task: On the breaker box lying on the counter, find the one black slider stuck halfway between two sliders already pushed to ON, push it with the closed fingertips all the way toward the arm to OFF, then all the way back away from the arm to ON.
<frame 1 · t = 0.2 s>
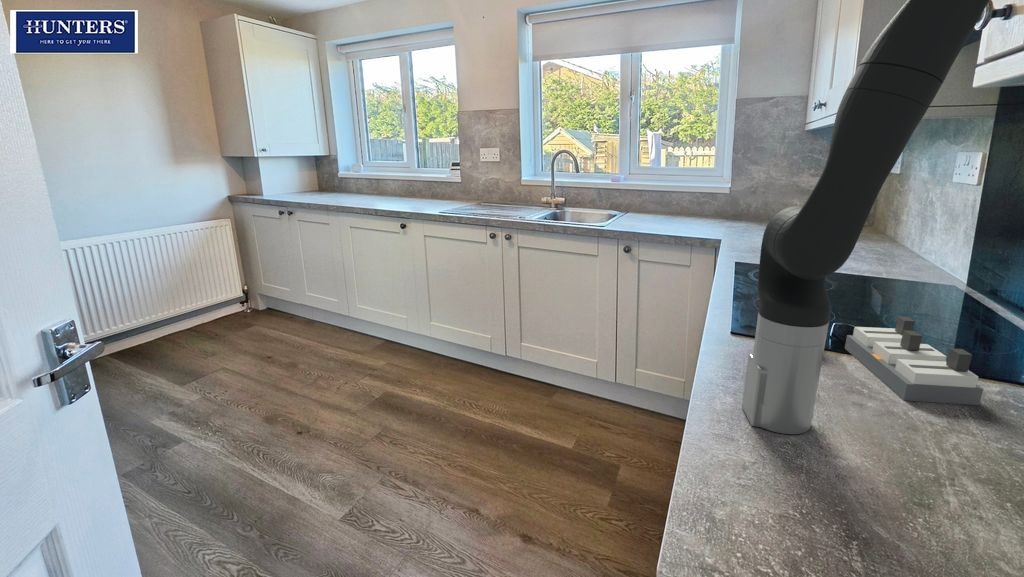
breaker box: (903, 373, 92), on the countertop
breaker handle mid: (911, 340, 90), point 7 cm above the countertop, slide at 0.0 cm
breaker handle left: (904, 326, 97), point 7 cm above the countertop, slide at 3.0 cm
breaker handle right: (958, 359, 82), point 7 cm above the countertop, slide at 3.0 cm
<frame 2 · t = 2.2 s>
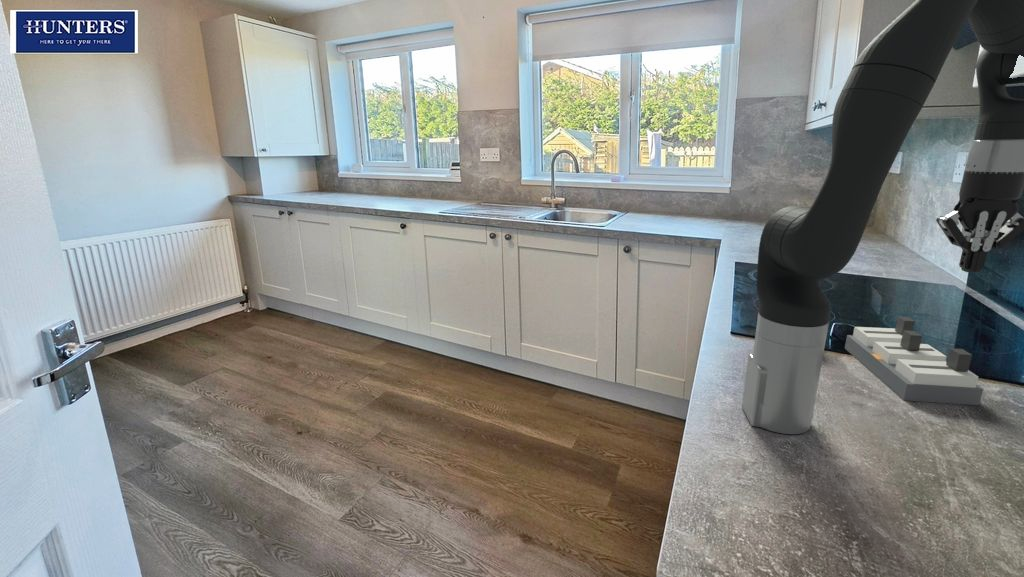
hand: (969, 271, 85), 20 cm above the countertop, tool pointing down, fingers closed
nothing on the countertop moved.
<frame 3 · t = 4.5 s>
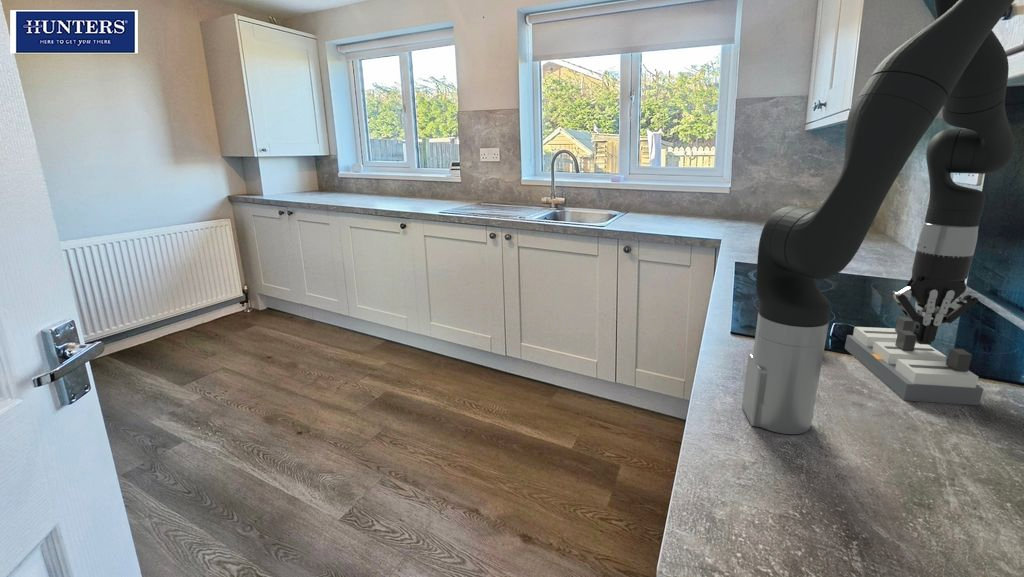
hand: (922, 342, 90), 6 cm above the countertop, tool pointing down, fingers closed
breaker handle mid: (905, 340, 91), point 7 cm above the countertop, slide at -0.8 cm, touching gripper
everything else where it was.
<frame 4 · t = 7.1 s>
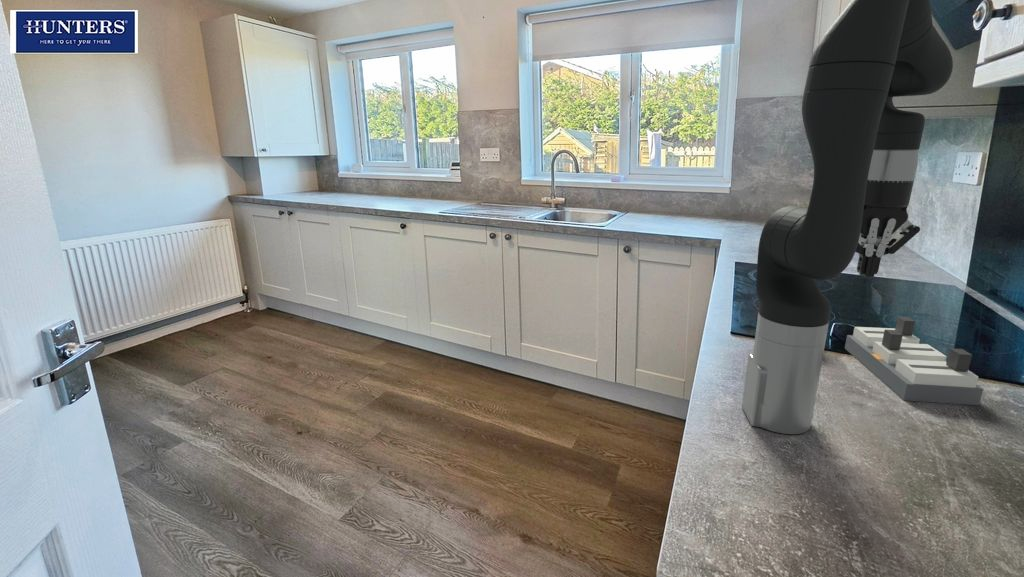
hand: (866, 276, 89), 19 cm above the countertop, tool pointing down, fingers closed
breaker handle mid: (892, 339, 91), point 7 cm above the countertop, slide at -3.1 cm
everything else where it was.
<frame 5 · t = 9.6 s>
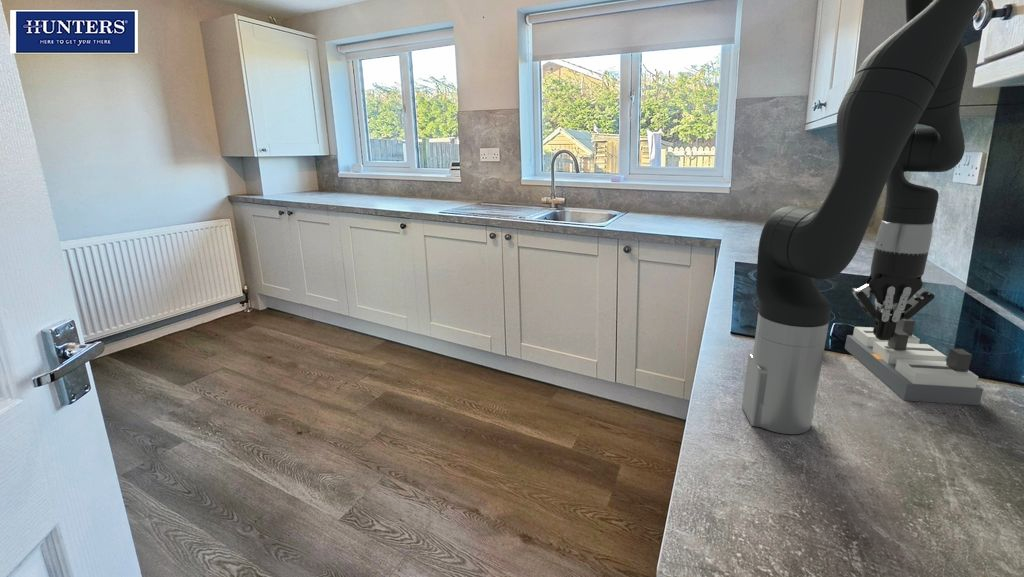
hand: (882, 338, 91), 7 cm above the countertop, tool pointing down, fingers closed
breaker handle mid: (898, 340, 91), point 7 cm above the countertop, slide at -2.1 cm, touching gripper
everything else where it was.
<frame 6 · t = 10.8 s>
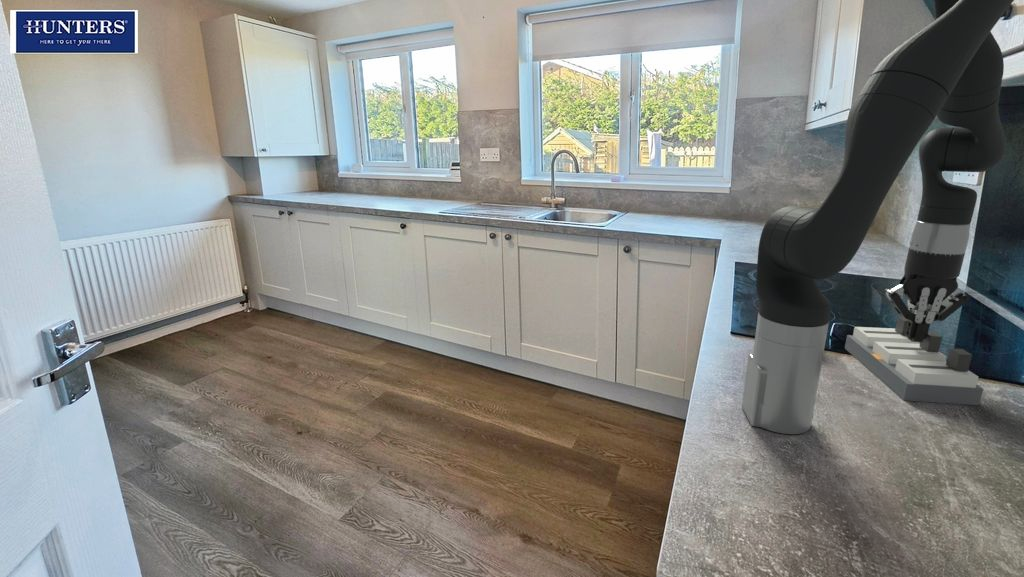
hand: (914, 340, 90), 7 cm above the countertop, tool pointing down, fingers closed
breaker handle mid: (930, 341, 90), point 7 cm above the countertop, slide at 3.2 cm, touching gripper
everything else where it was.
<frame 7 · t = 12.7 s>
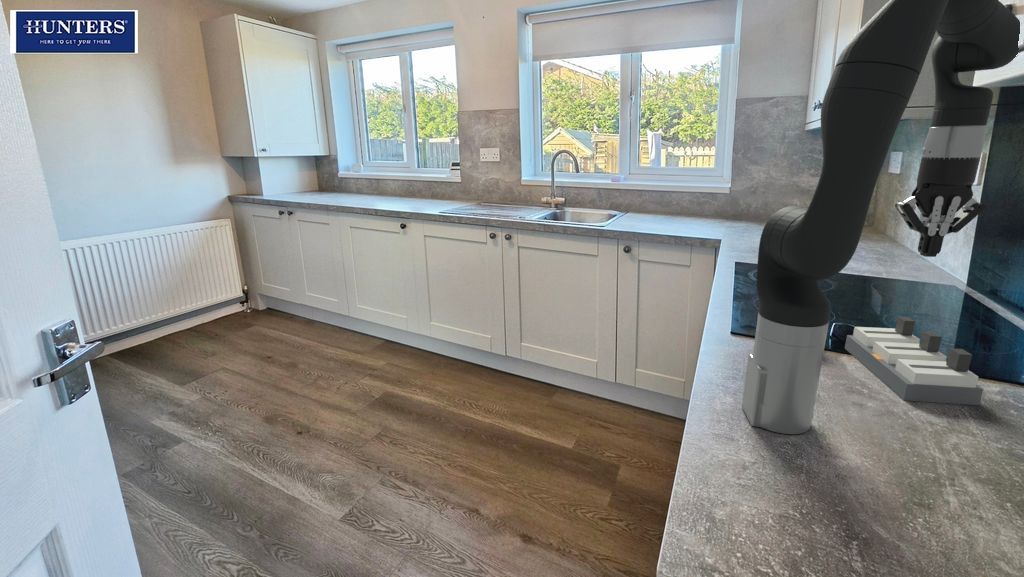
hand: (927, 255, 88), 22 cm above the countertop, tool pointing down, fingers closed
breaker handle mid: (930, 341, 90), point 7 cm above the countertop, slide at 3.1 cm
everything else where it was.
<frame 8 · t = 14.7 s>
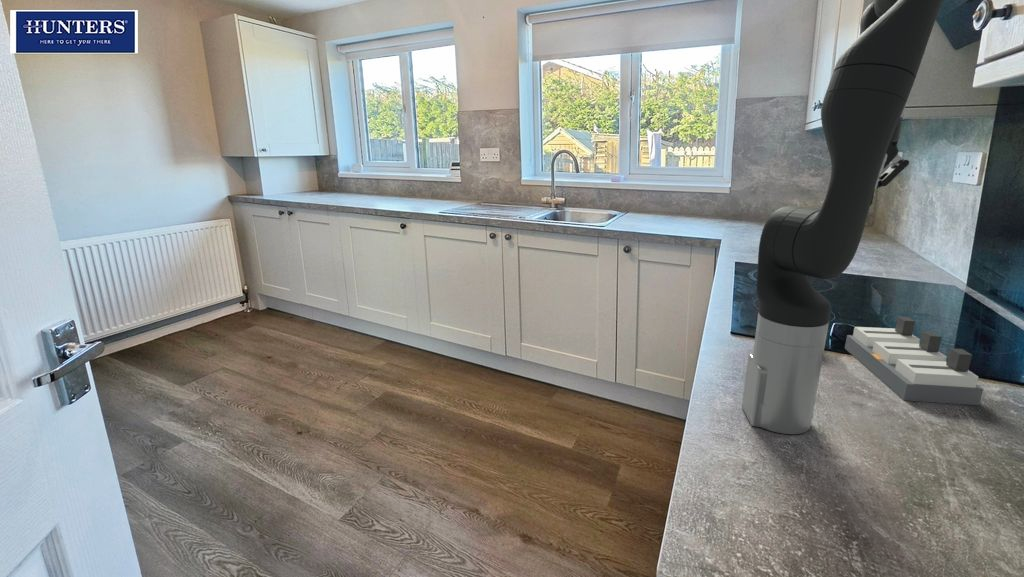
hand: (861, 208, 98), 29 cm above the countertop, tool pointing down, fingers closed
nothing on the countertop moved.
at the end: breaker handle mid slide at 3.1 cm; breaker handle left slide at 3.0 cm; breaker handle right slide at 3.0 cm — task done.
